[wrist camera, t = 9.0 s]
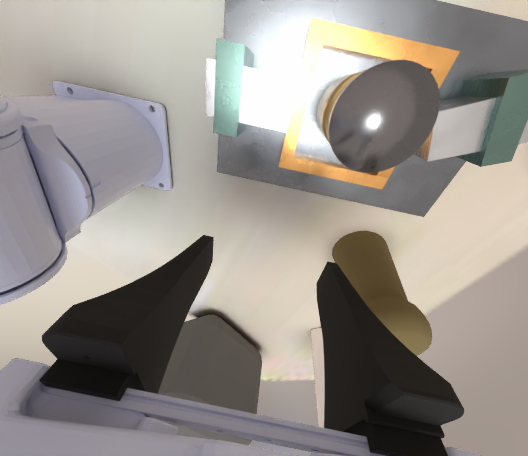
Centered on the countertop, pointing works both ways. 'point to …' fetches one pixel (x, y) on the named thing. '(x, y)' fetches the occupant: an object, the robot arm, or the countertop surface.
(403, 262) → the countertop surface
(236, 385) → the dark grey rounded block
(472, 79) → the bench plate
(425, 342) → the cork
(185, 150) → the countertop surface
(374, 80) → the tan and grey cylinder
